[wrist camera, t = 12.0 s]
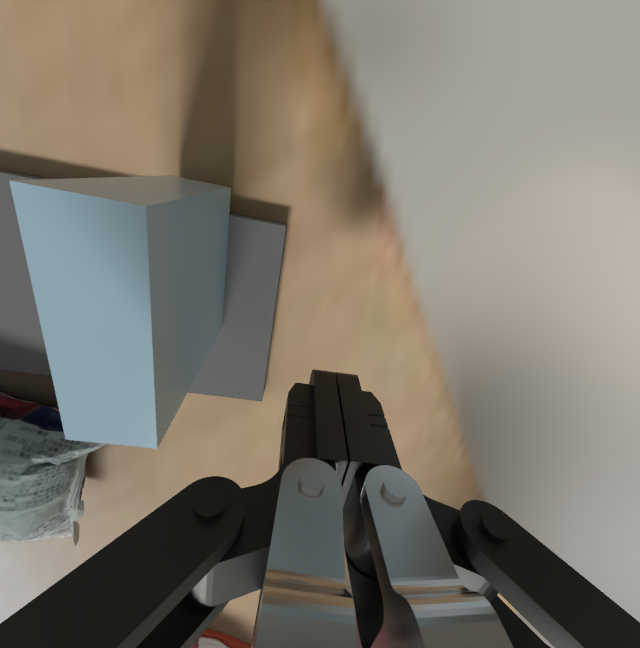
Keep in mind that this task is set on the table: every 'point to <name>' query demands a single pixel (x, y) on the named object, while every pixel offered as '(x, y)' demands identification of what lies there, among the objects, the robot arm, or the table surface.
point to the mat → (238, 312)
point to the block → (124, 295)
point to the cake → (218, 641)
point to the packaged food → (39, 473)
